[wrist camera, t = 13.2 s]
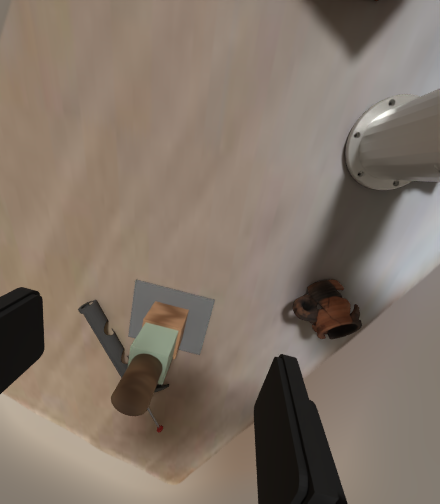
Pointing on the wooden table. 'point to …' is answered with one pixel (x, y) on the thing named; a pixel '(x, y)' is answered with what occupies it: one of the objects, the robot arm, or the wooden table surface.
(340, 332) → the pottery mug
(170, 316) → the tower base
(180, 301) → the mat
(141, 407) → the dowel
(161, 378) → the tower mid
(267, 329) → the wooden table surface
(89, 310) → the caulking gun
